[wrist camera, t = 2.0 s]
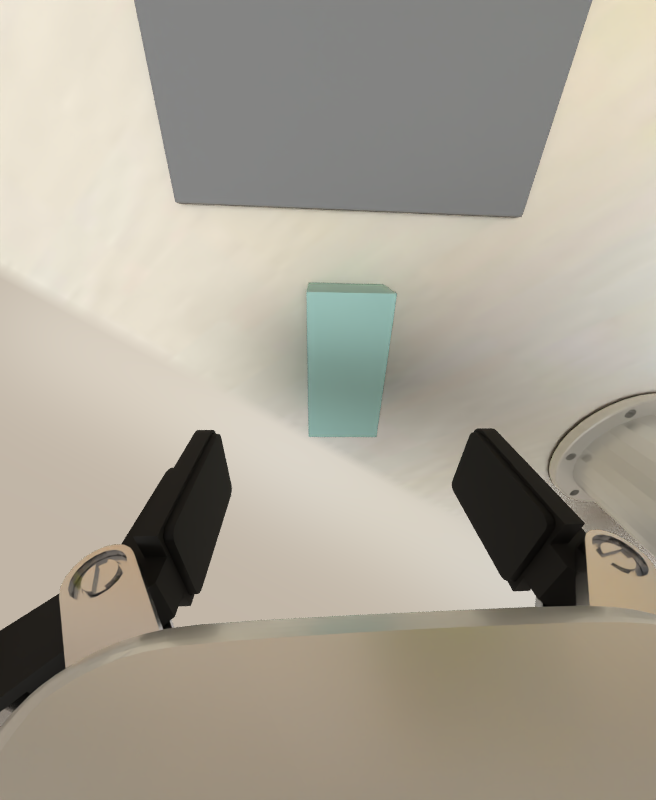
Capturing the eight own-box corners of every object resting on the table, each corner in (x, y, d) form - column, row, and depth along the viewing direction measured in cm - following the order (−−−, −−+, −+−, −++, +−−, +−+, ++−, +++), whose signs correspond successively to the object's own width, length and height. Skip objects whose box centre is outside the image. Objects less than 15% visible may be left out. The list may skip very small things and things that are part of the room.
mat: (634, -158, 10) (650, -179, 10) (515, 217, 17) (522, 216, 16) (98, -209, 10) (86, -234, 9) (180, 203, 16) (175, 202, 15)
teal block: (382, 283, 19) (396, 293, 15) (367, 408, 24) (376, 436, 20) (309, 282, 18) (306, 291, 15) (310, 407, 23) (308, 436, 20)
